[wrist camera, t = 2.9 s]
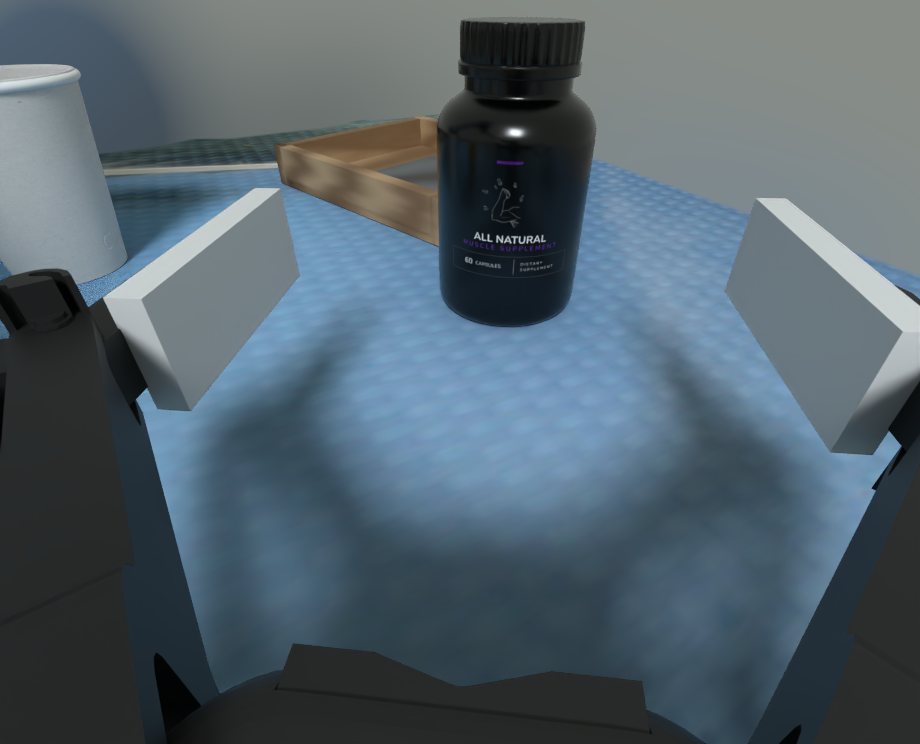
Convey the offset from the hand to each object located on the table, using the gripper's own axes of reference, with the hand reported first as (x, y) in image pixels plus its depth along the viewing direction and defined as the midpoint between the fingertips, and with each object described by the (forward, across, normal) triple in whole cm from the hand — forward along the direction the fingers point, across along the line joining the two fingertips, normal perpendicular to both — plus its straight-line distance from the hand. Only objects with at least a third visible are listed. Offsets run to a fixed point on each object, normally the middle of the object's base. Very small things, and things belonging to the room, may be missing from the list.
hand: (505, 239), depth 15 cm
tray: (+28, -7, -7) cm, 30 cm away
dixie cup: (+11, -26, -7) cm, 29 cm away
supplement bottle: (+10, 0, -7) cm, 12 cm away
